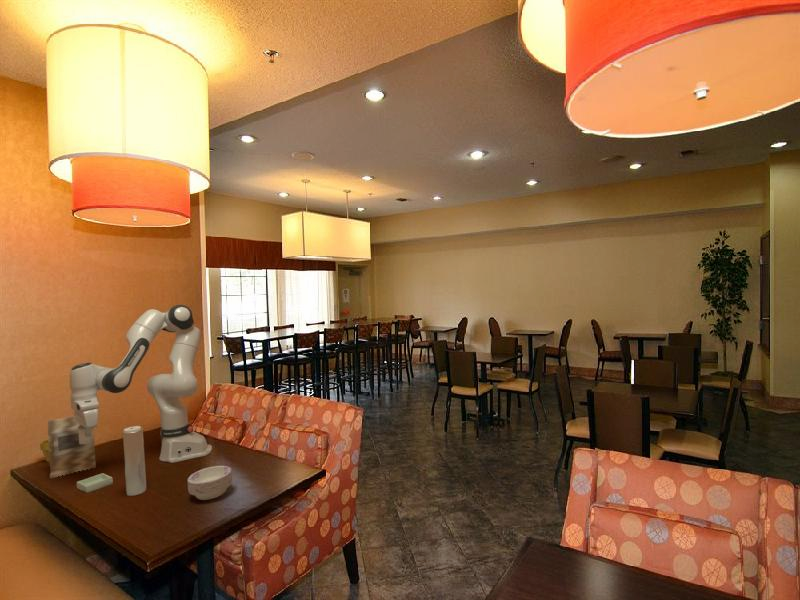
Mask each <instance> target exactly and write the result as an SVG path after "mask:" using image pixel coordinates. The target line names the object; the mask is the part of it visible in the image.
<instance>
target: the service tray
mask: <svg viewBox="0 0 800 600" xmlns="http://www.w3.org/2000/svg"><path fill="white" fill-rule="evenodd" d="M113 479H114V478H113V477H112V476H110V475H109V474H108V475H107V474H106V473H103V472H102V473H100V474H96V475H94V476H90V477H88V478H84V479H82V480H78V481H76V488H77V489H78V490H80V491H81V492H83V493H85V494H88V493H90V492H93V491H96V490H99V489H102V488H105V487H107V486H110V485H113V484H114V482H113V481H114V480H113Z"/></svg>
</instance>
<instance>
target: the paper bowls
mask: <svg viewBox="0 0 800 600" xmlns="http://www.w3.org/2000/svg"><path fill="white" fill-rule="evenodd" d="M188 476H189V475H188ZM232 483H233V470H232V468H231V467H229V466H226V465H216V466H215V465H213V466H209V467H205V468H202V469H200V470H198V471H195V472H194V473H191V475H190V476H189V477H187V490H188V494H190V495H191V496H194V497H195V498H196V499H198V500H201V501H207V500H213V499H216V498H218V497H220V496H222V495H224V494H225V492H227V489H228V487H229V486H231V485H232Z"/></svg>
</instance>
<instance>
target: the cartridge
mask: <svg viewBox="0 0 800 600" xmlns="http://www.w3.org/2000/svg"><path fill="white" fill-rule="evenodd" d="M93 429H94V428H92V432H91V437H86V436H85V433H86V429H85V427H83V426H82V425H80V426H78V433H79V444H88V443H91V442H93V441H94V442H95V434H94V432H93Z"/></svg>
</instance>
